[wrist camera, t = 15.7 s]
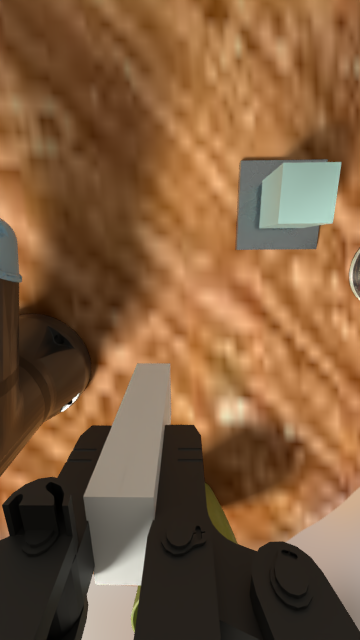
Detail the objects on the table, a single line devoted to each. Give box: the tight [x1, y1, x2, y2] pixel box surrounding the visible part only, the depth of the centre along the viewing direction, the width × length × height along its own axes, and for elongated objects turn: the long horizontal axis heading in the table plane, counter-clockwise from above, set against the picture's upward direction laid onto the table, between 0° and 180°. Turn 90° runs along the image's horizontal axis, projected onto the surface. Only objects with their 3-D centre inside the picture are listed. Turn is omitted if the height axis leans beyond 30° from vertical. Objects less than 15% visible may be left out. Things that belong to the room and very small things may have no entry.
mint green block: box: [259, 162, 341, 228], centre depth 27 cm, size 5×5×7 cm
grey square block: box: [235, 159, 328, 250], centre depth 29 cm, size 10×10×8 cm
